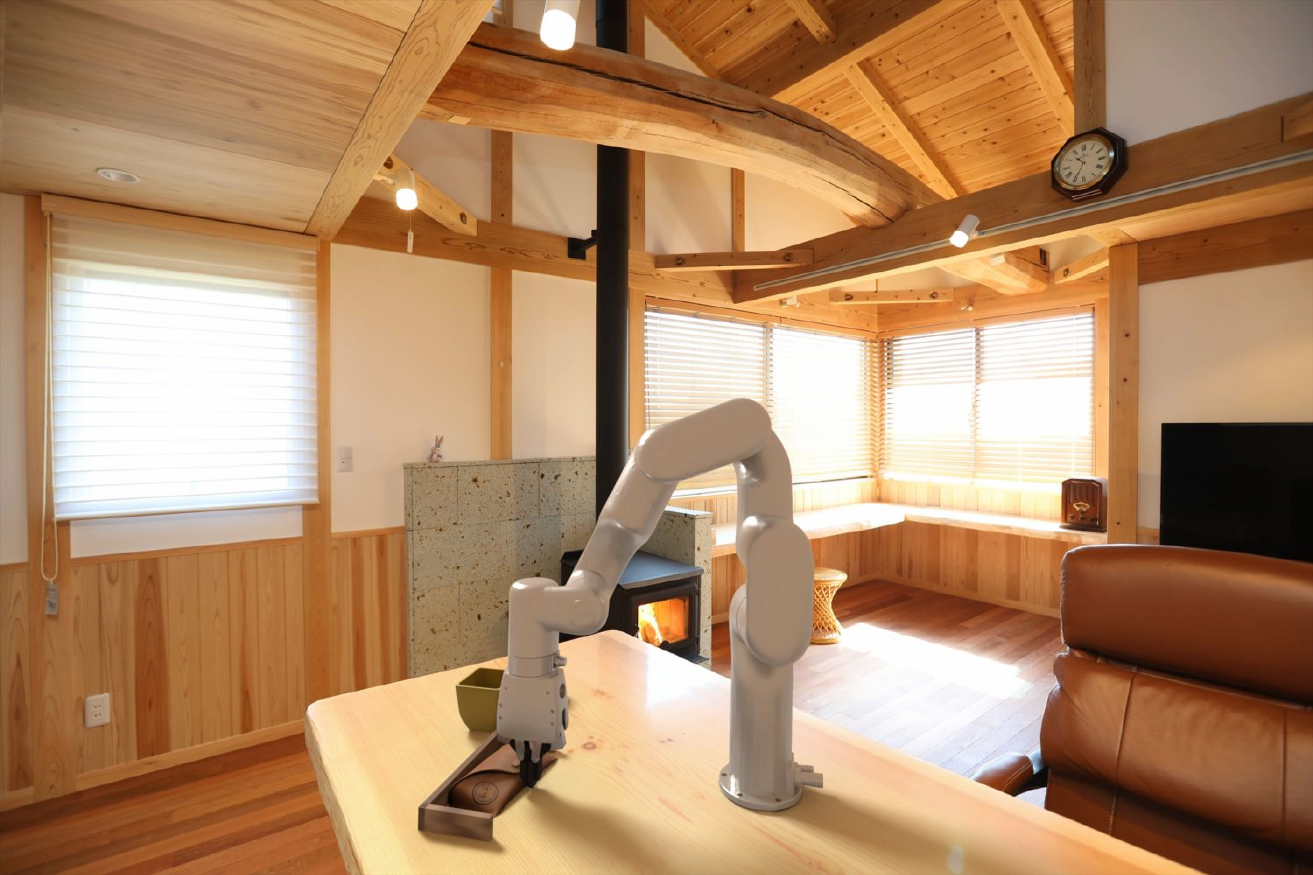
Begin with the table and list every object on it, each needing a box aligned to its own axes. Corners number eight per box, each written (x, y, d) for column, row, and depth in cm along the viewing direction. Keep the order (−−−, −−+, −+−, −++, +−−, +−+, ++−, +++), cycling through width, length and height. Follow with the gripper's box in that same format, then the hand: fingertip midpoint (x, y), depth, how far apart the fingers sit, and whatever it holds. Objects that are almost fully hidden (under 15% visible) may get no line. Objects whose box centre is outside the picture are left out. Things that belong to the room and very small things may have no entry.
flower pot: (498, 740, 105) (499, 689, 105) (453, 734, 106) (454, 684, 106) (519, 717, 113) (520, 670, 113) (477, 712, 115) (478, 666, 115)
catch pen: (556, 749, 102) (556, 732, 102) (489, 841, 78) (489, 818, 78) (499, 742, 104) (500, 725, 104) (417, 829, 80) (418, 807, 80)
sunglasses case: (496, 820, 83) (476, 773, 84) (459, 835, 85) (441, 789, 86) (561, 756, 99) (544, 718, 101) (529, 771, 101) (513, 733, 103)
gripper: (588, 657, 92) (585, 776, 92) (499, 649, 95) (497, 763, 95) (571, 676, 85) (568, 805, 85) (475, 666, 88) (473, 790, 88)
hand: (530, 782), depth 90 cm, fingers closed
